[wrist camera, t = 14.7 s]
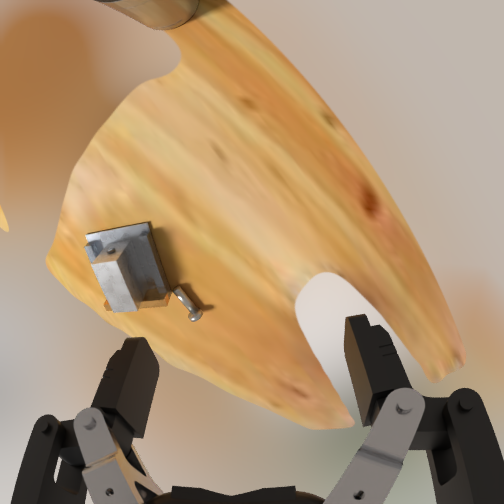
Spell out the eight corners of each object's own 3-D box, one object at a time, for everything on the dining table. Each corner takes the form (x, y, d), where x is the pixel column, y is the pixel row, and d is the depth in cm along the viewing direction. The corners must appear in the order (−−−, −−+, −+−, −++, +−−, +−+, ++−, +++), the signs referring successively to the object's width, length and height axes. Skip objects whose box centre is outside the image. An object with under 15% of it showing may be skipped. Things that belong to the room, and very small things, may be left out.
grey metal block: (106, 242, 50) (90, 263, 44) (130, 238, 49) (115, 259, 43) (126, 289, 55) (113, 312, 49) (148, 286, 54) (137, 311, 48)
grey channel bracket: (86, 234, 49) (76, 244, 46) (147, 222, 48) (140, 233, 45) (113, 298, 56) (106, 310, 53) (171, 292, 55) (166, 306, 52)
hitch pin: (171, 288, 55) (167, 298, 52) (182, 283, 54) (179, 292, 52) (192, 313, 58) (189, 323, 55) (203, 309, 57) (201, 318, 55)
